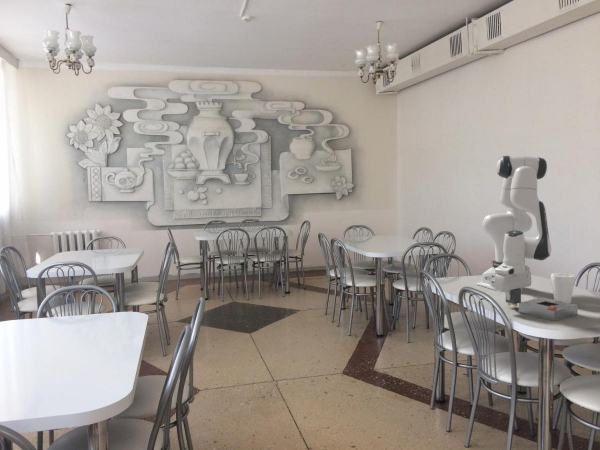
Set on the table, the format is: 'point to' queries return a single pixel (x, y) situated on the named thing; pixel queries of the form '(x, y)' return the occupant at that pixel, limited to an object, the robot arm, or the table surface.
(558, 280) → the foam cup
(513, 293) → the plug
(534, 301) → the socket
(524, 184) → the robot arm
